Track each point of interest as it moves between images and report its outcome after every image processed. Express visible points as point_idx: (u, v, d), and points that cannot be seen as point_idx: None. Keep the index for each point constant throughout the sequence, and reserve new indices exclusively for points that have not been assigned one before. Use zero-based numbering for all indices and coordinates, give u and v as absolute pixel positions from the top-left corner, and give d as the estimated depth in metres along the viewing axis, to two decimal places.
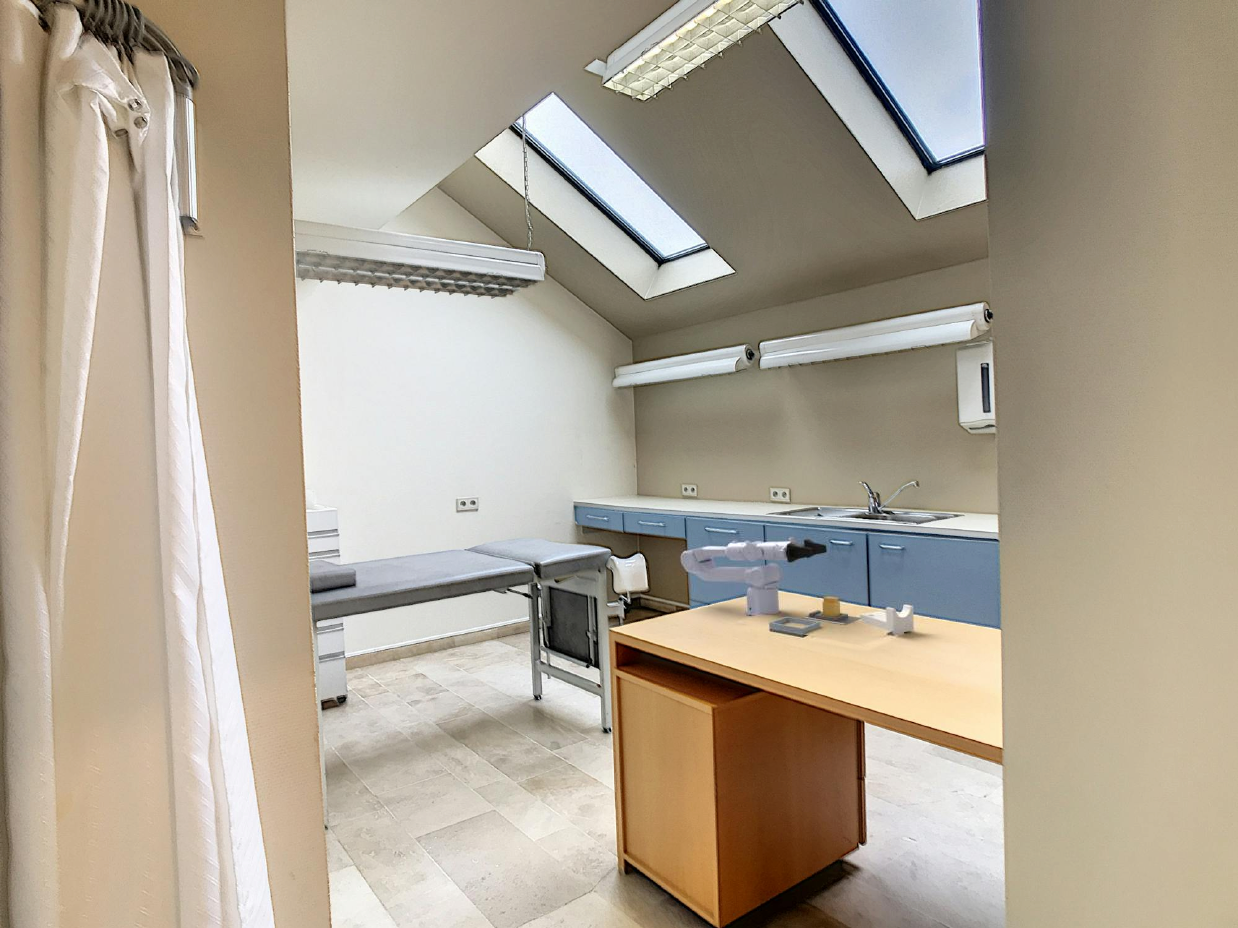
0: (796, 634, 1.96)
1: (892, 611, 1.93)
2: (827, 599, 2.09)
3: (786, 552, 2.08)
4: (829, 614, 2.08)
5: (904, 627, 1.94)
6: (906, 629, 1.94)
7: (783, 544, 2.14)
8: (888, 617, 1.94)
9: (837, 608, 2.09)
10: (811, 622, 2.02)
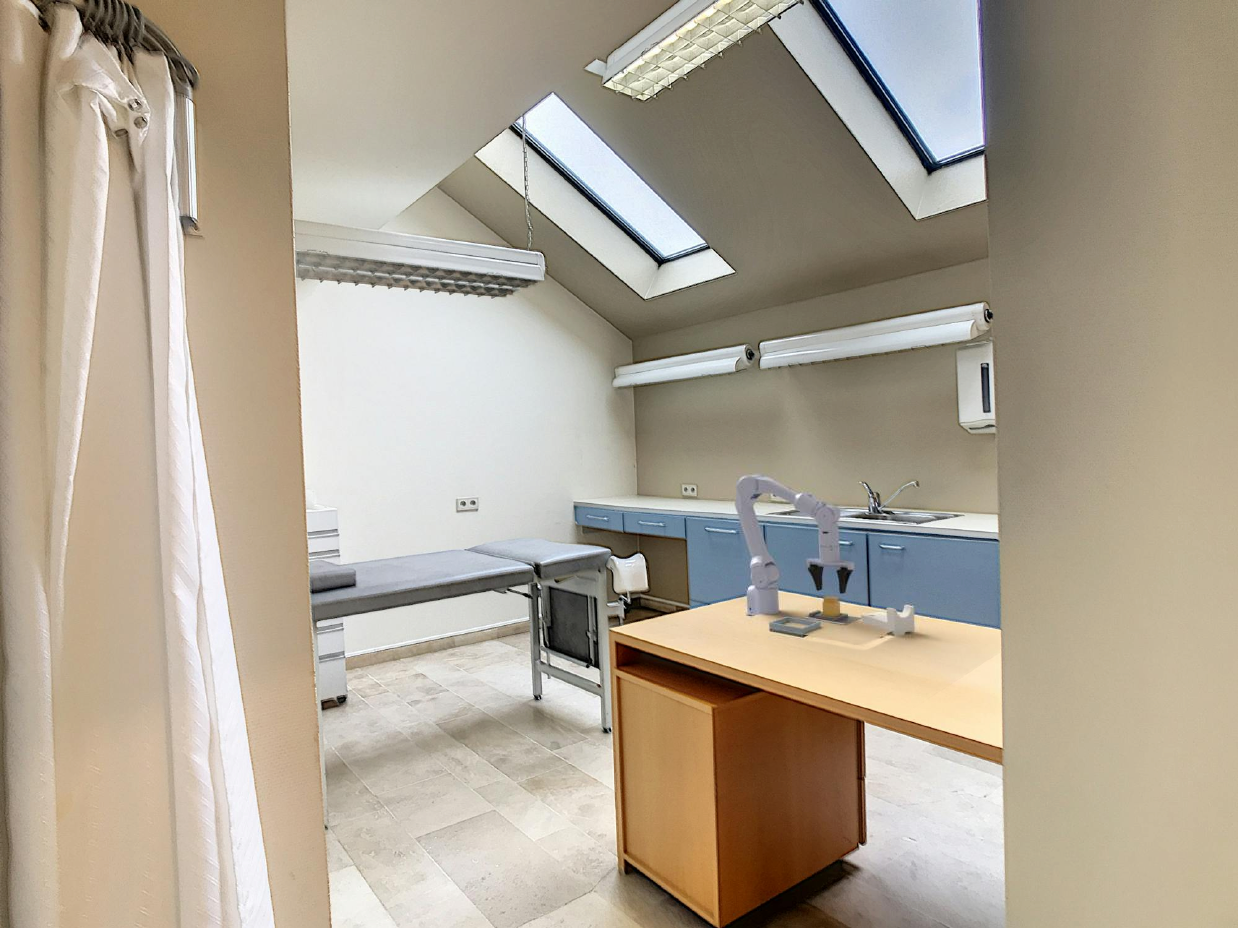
0: (796, 634, 1.96)
1: (893, 612, 1.92)
2: (827, 599, 2.09)
3: (849, 569, 2.05)
4: (829, 614, 2.08)
5: (905, 627, 1.94)
6: (907, 630, 1.94)
7: None
8: (888, 618, 1.94)
9: (837, 608, 2.09)
10: (811, 622, 2.02)
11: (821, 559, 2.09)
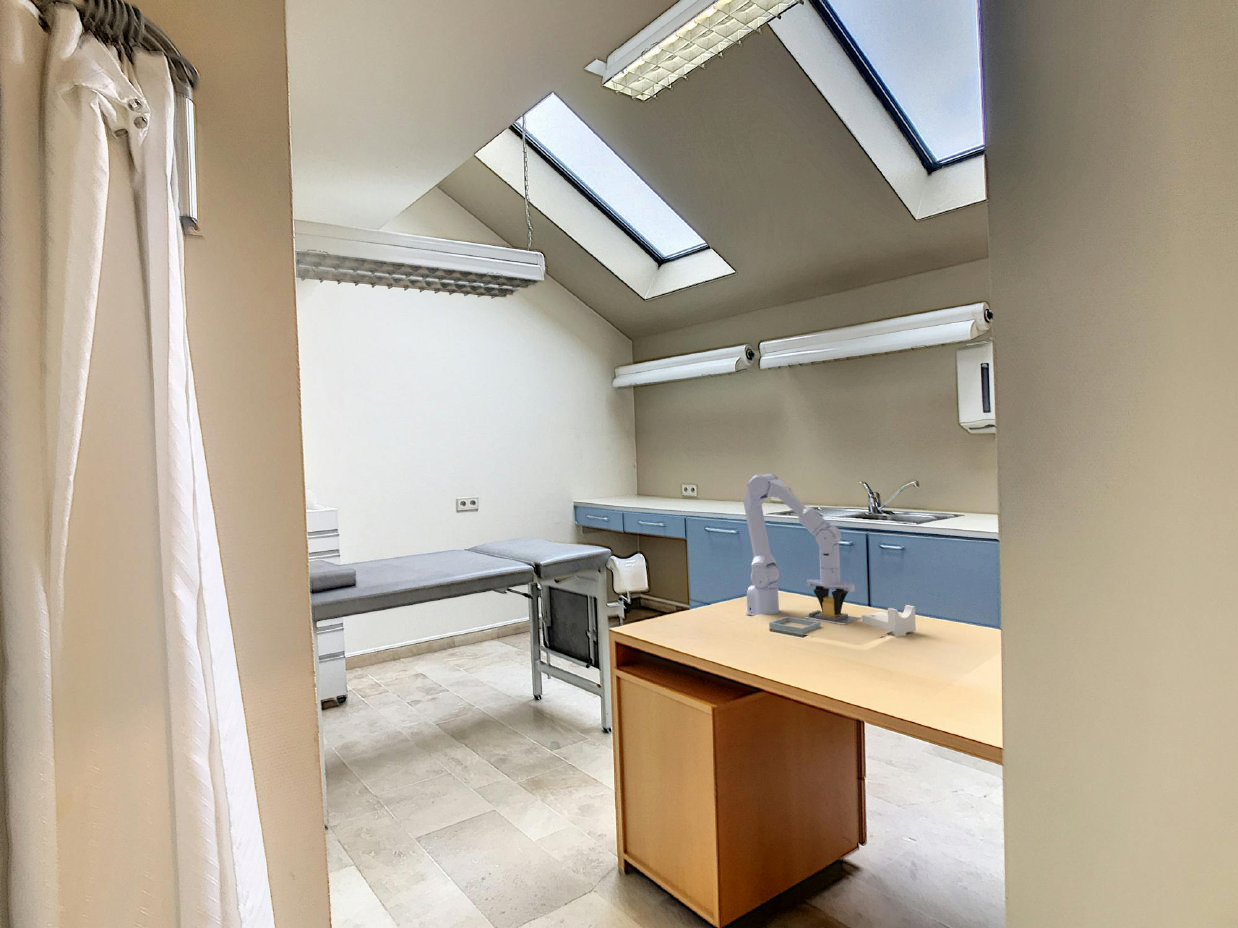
0: (796, 634, 1.96)
1: (894, 612, 1.92)
2: (827, 599, 2.09)
3: (845, 591, 2.07)
4: (829, 614, 2.08)
5: (906, 628, 1.93)
6: (908, 630, 1.93)
7: None
8: (889, 618, 1.93)
9: None
10: (811, 622, 2.02)
11: (822, 581, 2.09)
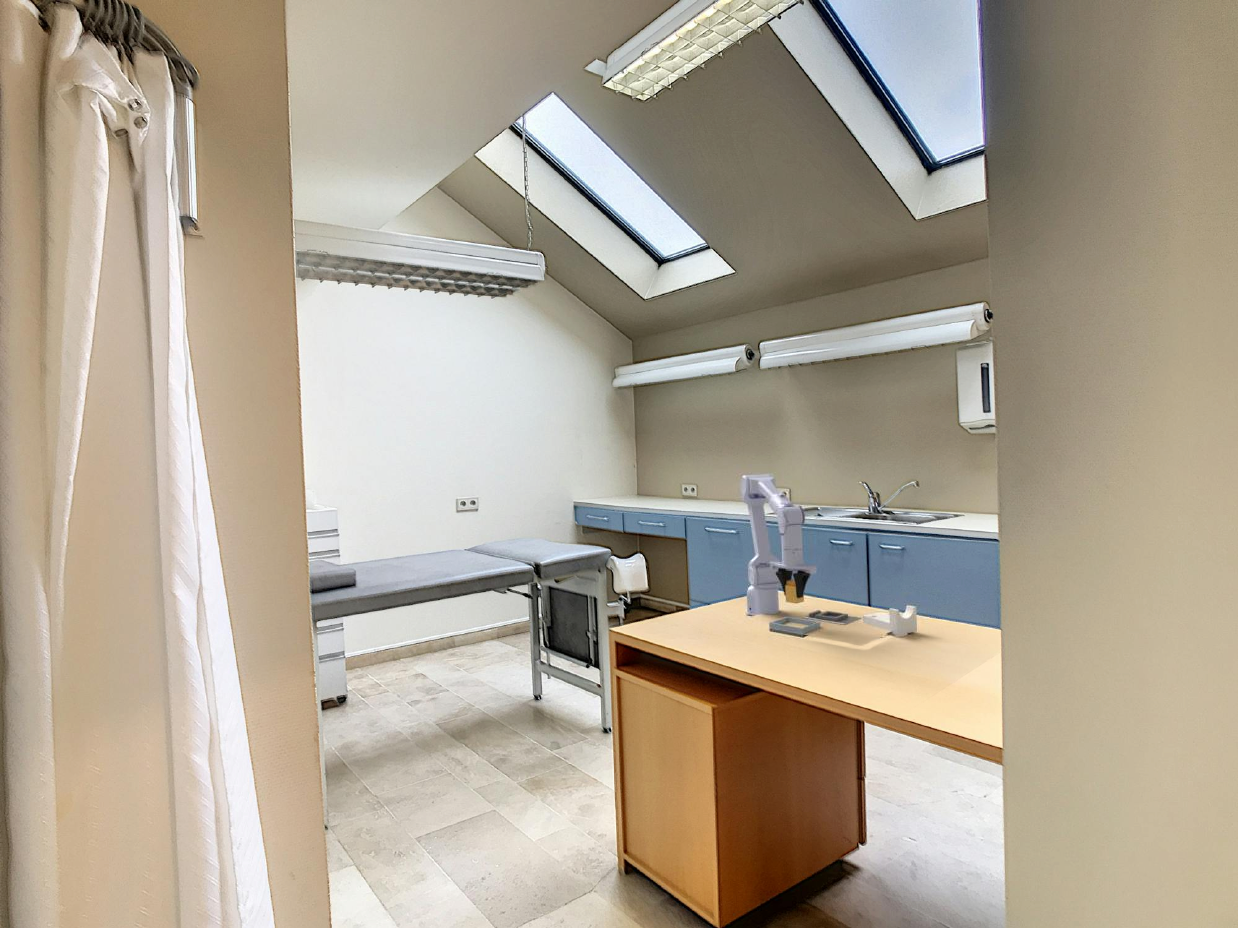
0: (796, 634, 1.96)
1: (895, 612, 1.91)
2: (790, 582, 2.01)
3: (806, 573, 1.98)
4: (792, 597, 2.00)
5: (908, 628, 1.93)
6: (909, 630, 1.93)
7: None
8: (891, 619, 1.93)
9: None
10: (811, 622, 2.02)
11: (783, 562, 2.01)
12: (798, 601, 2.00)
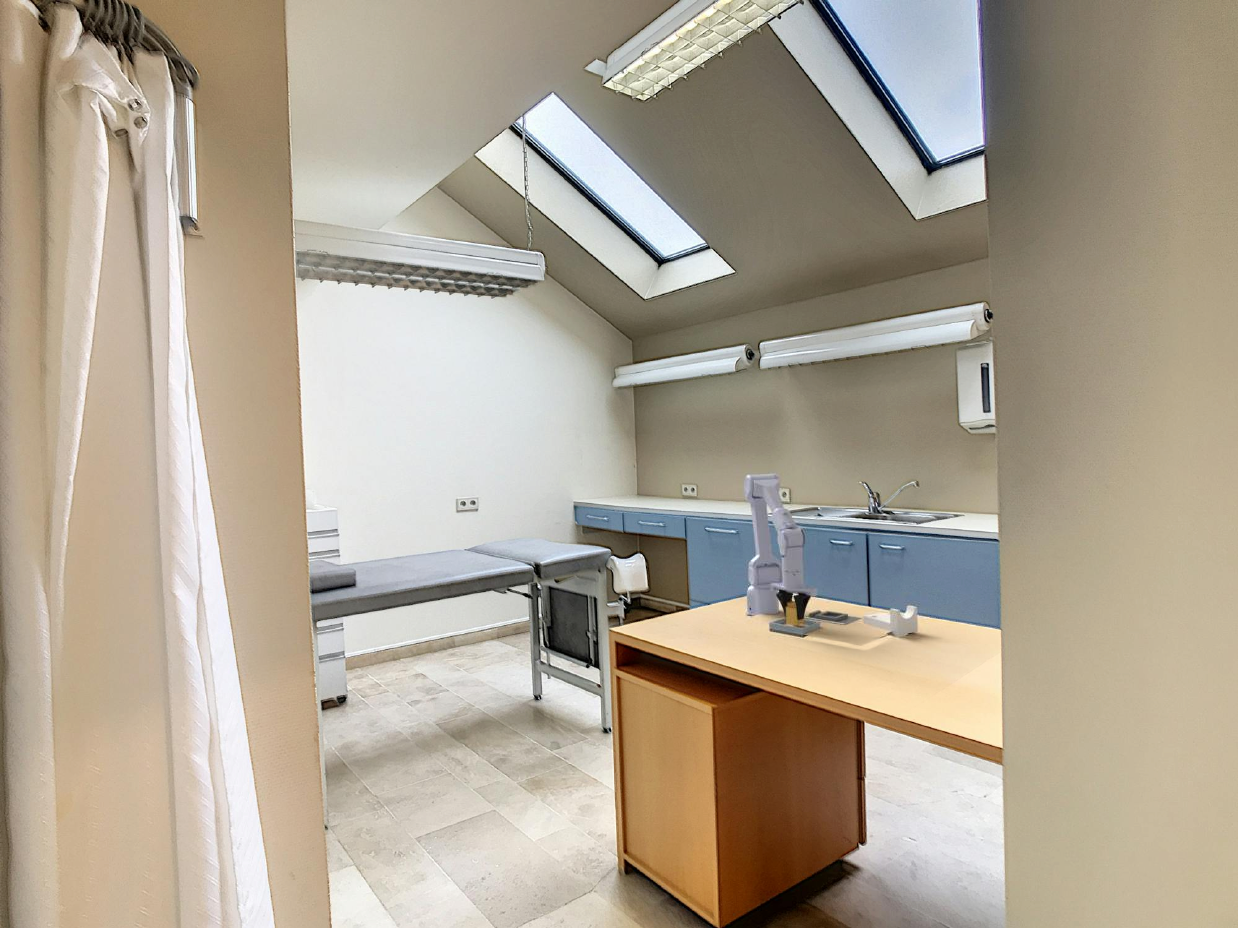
0: (796, 634, 1.96)
1: (896, 613, 1.91)
2: (790, 604, 2.01)
3: (807, 595, 1.98)
4: (792, 619, 2.01)
5: (908, 628, 1.93)
6: (910, 631, 1.93)
7: None
8: (892, 619, 1.93)
9: None
10: (811, 622, 2.02)
11: (784, 584, 2.01)
12: (799, 623, 2.00)
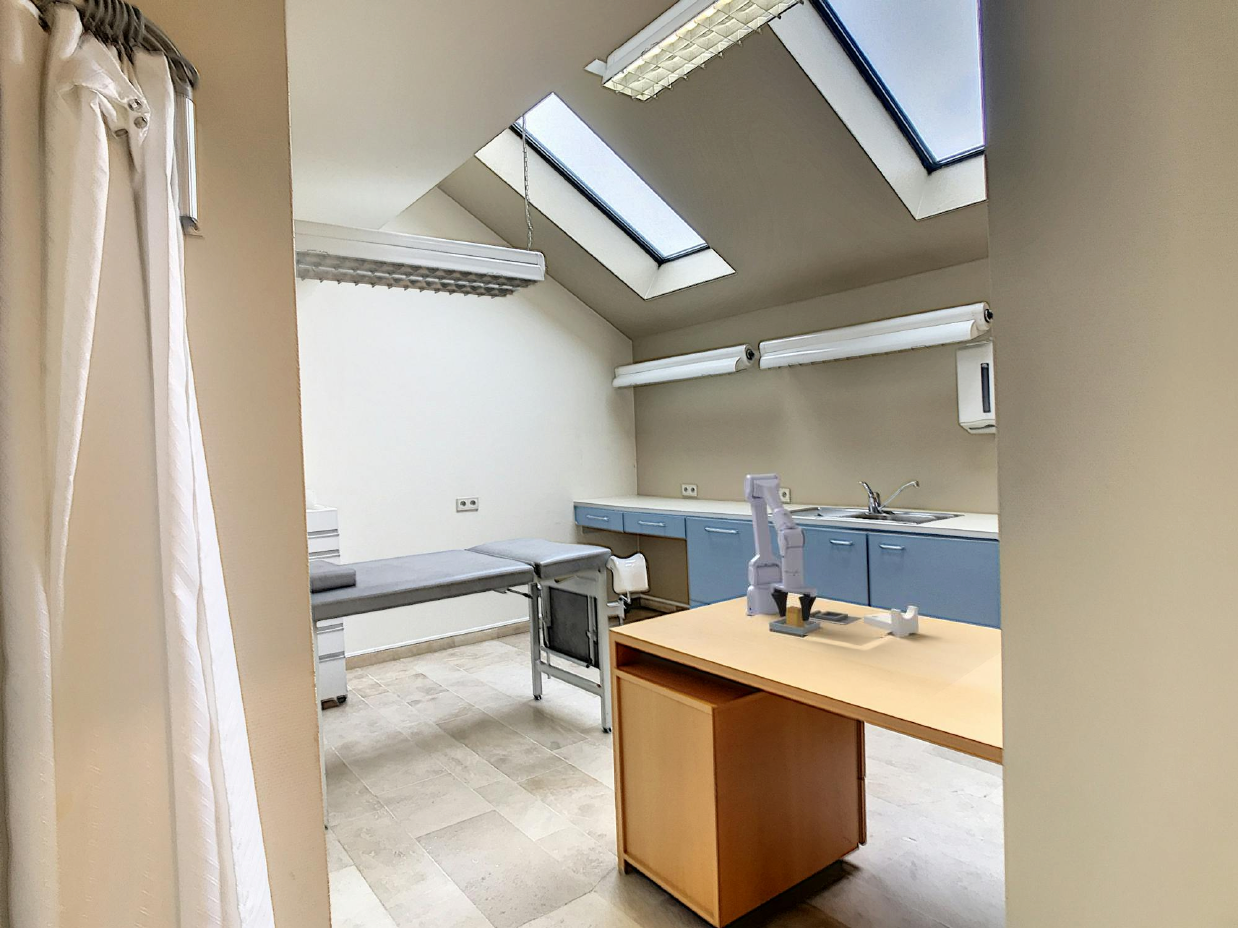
0: (796, 634, 1.96)
1: (897, 613, 1.91)
2: (791, 609, 2.01)
3: (812, 596, 1.97)
4: (792, 625, 2.01)
5: (909, 628, 1.92)
6: (911, 631, 1.92)
7: None
8: (893, 619, 1.92)
9: (801, 618, 2.01)
10: (811, 622, 2.02)
11: (784, 585, 2.01)
12: None
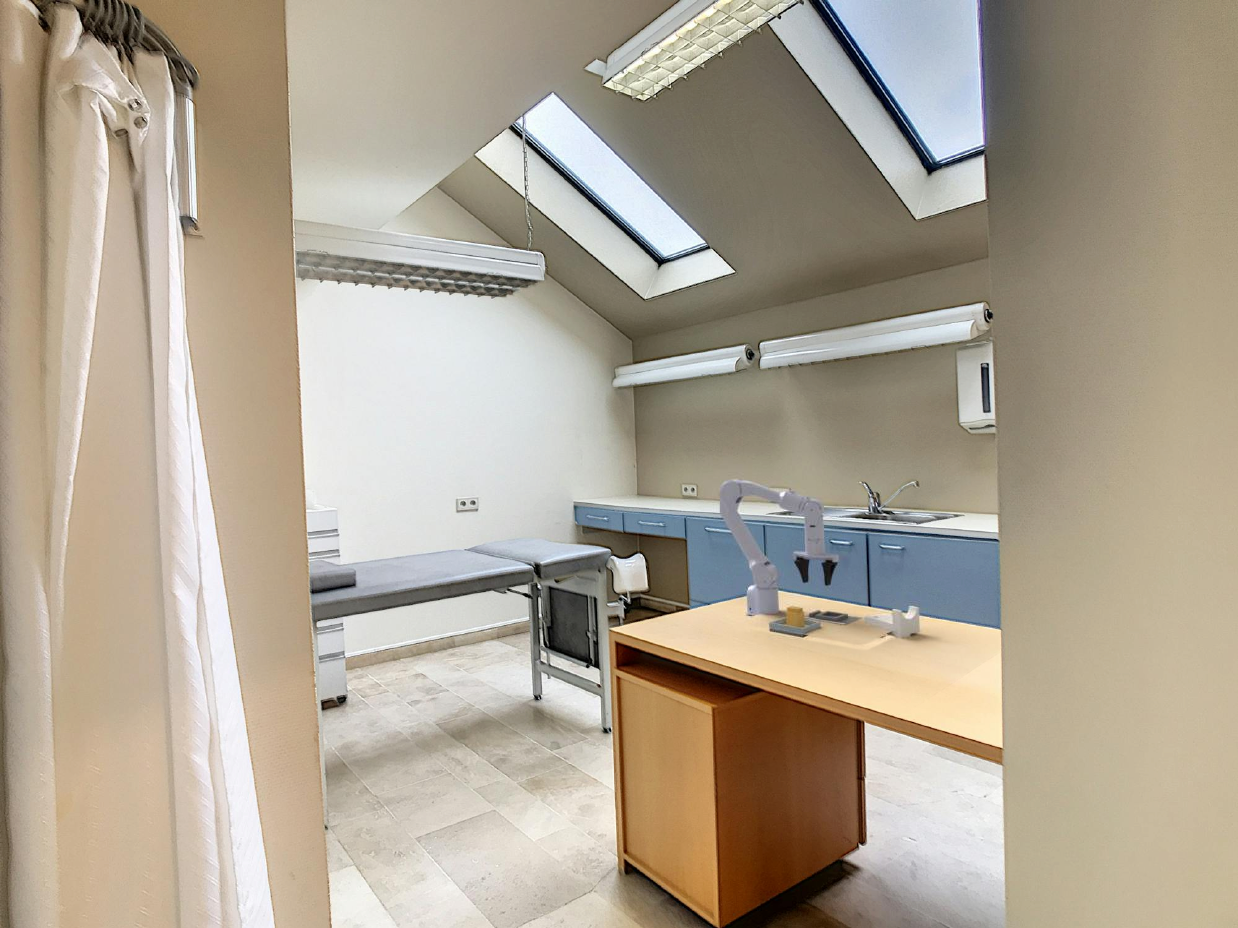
0: (796, 634, 1.96)
1: (898, 613, 1.90)
2: (791, 609, 2.01)
3: (834, 562, 2.11)
4: (792, 625, 2.01)
5: (910, 629, 1.92)
6: (912, 631, 1.92)
7: None
8: (894, 619, 1.92)
9: (801, 618, 2.01)
10: (811, 622, 2.02)
11: (807, 552, 2.14)
12: None
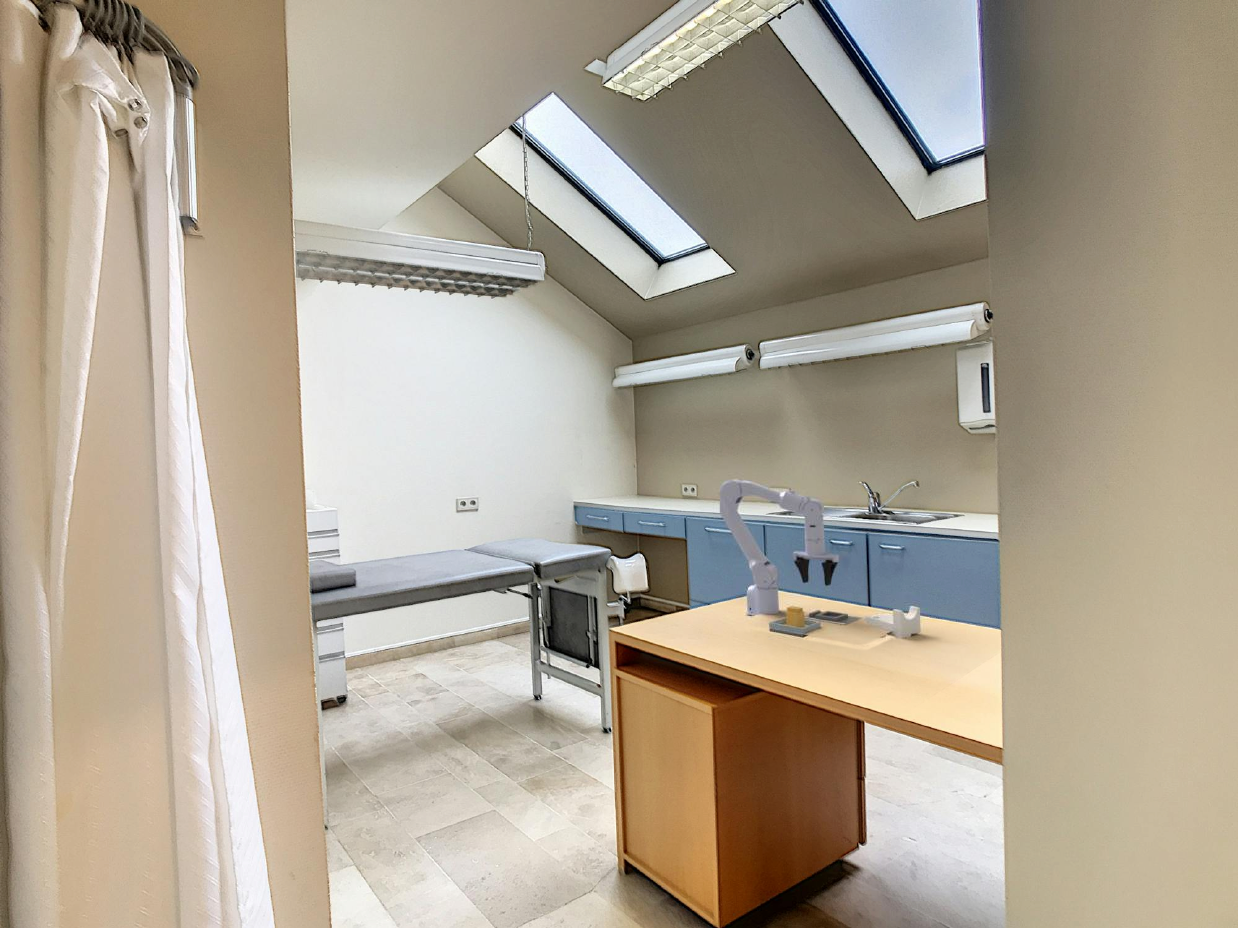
0: (796, 634, 1.96)
1: (899, 613, 1.90)
2: (791, 609, 2.01)
3: (834, 562, 2.11)
4: (792, 625, 2.01)
5: (911, 629, 1.92)
6: (913, 631, 1.92)
7: None
8: (895, 620, 1.92)
9: (801, 618, 2.01)
10: (811, 622, 2.02)
11: (807, 552, 2.14)
12: None
